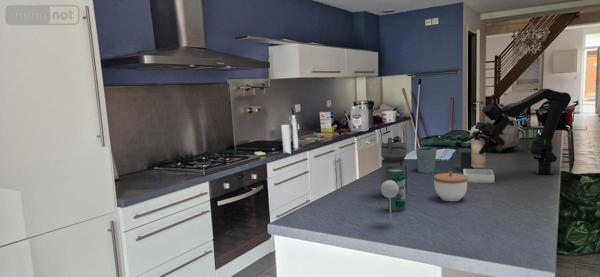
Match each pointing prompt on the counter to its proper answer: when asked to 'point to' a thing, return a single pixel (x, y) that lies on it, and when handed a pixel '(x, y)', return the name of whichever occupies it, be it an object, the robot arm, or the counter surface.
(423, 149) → the drinking glass
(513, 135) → the jug
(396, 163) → the beverage bottle
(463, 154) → the small box
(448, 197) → the lidded bowl
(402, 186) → the can
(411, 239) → the counter surface
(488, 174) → the tray
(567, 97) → the robot arm
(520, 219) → the counter surface
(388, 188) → the lollipop
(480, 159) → the canister
